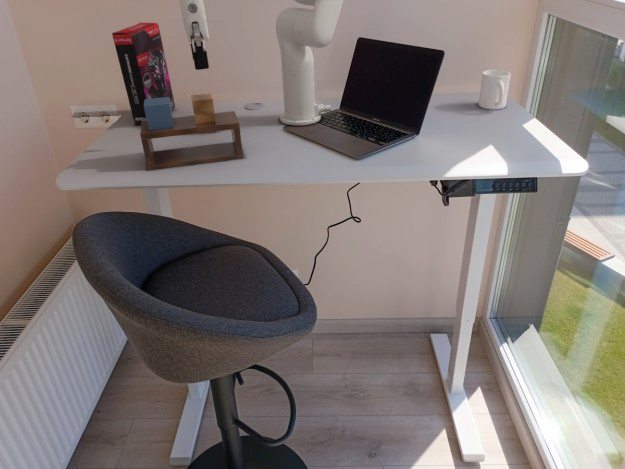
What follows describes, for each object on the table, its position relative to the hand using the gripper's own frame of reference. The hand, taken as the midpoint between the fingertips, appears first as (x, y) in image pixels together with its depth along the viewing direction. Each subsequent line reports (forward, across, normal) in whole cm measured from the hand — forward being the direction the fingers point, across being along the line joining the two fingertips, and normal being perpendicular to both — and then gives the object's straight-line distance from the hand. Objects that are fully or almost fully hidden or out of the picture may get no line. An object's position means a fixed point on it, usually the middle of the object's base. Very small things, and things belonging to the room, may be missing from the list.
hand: (200, 64), depth 124 cm
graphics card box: (+23, +36, +16) cm, 46 cm away
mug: (+25, +8, -88) cm, 92 cm away
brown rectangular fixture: (+23, -2, +5) cm, 24 cm away
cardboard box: (+14, -2, +1) cm, 14 cm away
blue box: (+13, -2, +12) cm, 18 cm away
